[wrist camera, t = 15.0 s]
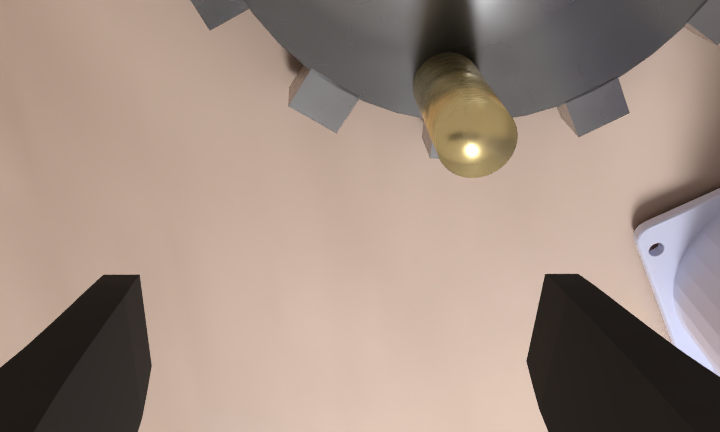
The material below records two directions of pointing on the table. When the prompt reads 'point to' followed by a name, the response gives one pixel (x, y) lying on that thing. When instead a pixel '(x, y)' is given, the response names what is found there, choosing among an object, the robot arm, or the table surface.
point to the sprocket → (469, 61)
